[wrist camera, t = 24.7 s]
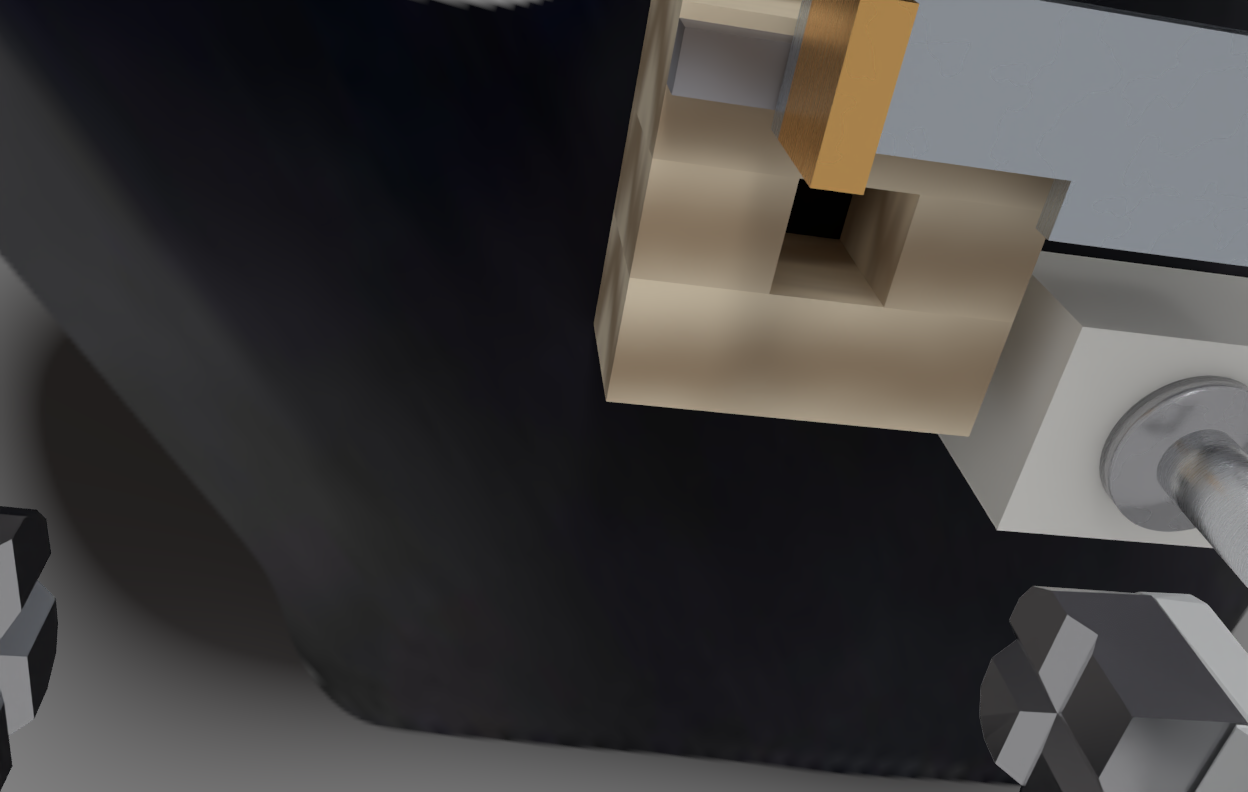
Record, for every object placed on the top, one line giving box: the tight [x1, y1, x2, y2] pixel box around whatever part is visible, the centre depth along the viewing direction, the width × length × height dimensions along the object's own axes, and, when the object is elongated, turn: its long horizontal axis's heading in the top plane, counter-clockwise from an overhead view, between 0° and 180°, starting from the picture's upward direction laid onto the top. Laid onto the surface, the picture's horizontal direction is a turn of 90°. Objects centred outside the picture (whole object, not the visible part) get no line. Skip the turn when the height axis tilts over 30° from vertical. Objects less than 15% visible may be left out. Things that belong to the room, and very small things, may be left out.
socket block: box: [594, 0, 1054, 437], centre depth 40 cm, size 14×14×7 cm
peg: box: [1099, 375, 1248, 588], centre depth 42 cm, size 6×6×14 cm
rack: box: [938, 251, 1248, 548], centre depth 46 cm, size 9×12×7 cm
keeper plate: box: [771, 0, 1248, 267], centre depth 33 cm, size 18×7×5 cm, turn 80°
